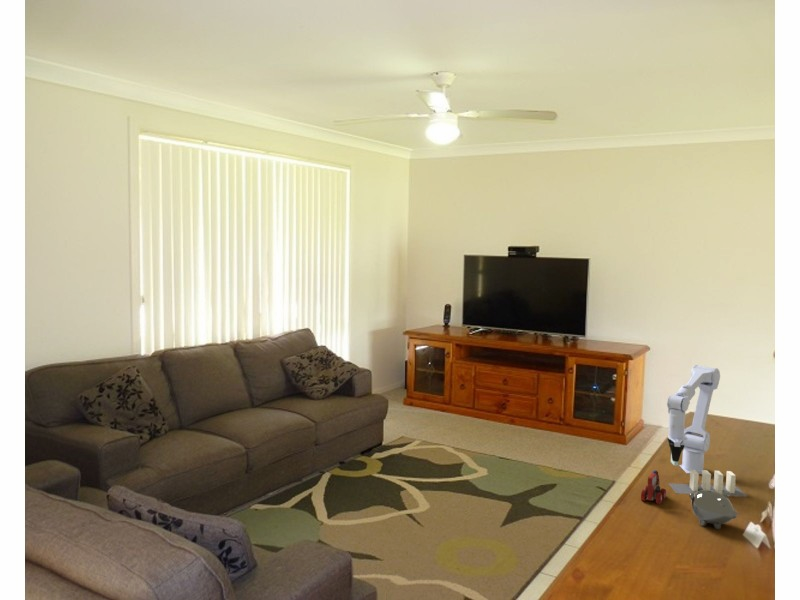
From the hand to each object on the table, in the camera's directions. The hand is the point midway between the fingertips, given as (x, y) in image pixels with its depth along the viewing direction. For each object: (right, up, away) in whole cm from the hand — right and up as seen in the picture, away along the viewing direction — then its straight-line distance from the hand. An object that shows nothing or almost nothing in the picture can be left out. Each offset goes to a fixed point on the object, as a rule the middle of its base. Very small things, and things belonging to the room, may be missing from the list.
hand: (674, 458), depth 257 cm
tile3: (+9, -10, -8) cm, 15 cm away
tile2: (+4, -10, -7) cm, 13 cm away
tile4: (+13, -10, -8) cm, 18 cm away
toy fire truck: (-15, -11, -16) cm, 25 cm away
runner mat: (+9, -10, -8) cm, 16 cm away
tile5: (+18, -10, -9) cm, 22 cm away
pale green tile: (0, -2, 0) cm, 2 cm away
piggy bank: (-3, -14, -36) cm, 39 cm away
